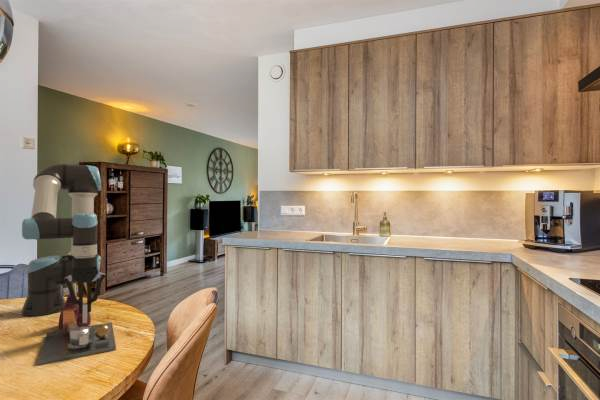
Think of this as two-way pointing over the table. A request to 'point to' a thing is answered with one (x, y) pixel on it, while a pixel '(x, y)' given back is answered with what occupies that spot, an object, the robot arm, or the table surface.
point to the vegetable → (80, 323)
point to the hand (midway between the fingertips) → (85, 321)
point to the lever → (74, 328)
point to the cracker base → (61, 348)
